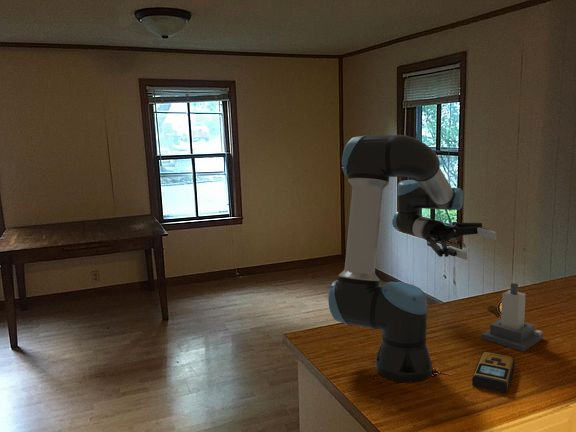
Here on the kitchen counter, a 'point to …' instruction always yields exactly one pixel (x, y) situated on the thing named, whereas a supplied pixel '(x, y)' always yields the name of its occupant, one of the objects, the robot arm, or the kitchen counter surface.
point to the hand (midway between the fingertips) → (481, 245)
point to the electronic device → (493, 372)
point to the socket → (513, 336)
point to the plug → (513, 308)
